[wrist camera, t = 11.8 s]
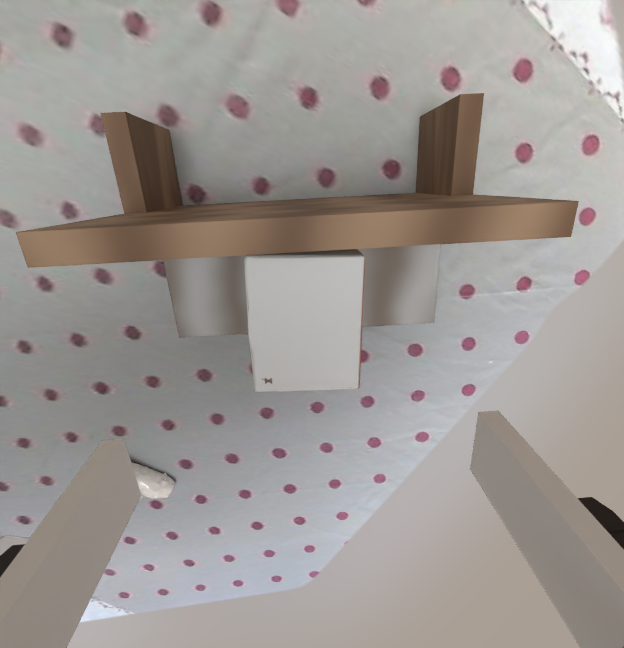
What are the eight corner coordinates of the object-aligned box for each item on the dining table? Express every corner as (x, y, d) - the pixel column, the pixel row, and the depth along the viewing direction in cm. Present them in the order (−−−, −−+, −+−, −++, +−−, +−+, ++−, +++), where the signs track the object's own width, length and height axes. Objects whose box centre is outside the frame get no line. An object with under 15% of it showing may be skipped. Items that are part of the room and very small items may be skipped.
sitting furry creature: (123, 515, 45) (66, 624, 34) (71, 473, 42) (-10, 576, 31) (180, 482, 43) (139, 585, 32) (129, 435, 41) (65, 531, 30)
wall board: (188, 325, 36) (92, 449, 19) (150, 130, 29) (-45, 61, 13) (423, 311, 36) (530, 421, 19) (437, 115, 30) (615, 28, 13)
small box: (338, 315, 33) (360, 392, 21) (269, 317, 33) (251, 395, 21) (339, 225, 30) (367, 254, 18) (264, 226, 30) (240, 256, 18)
